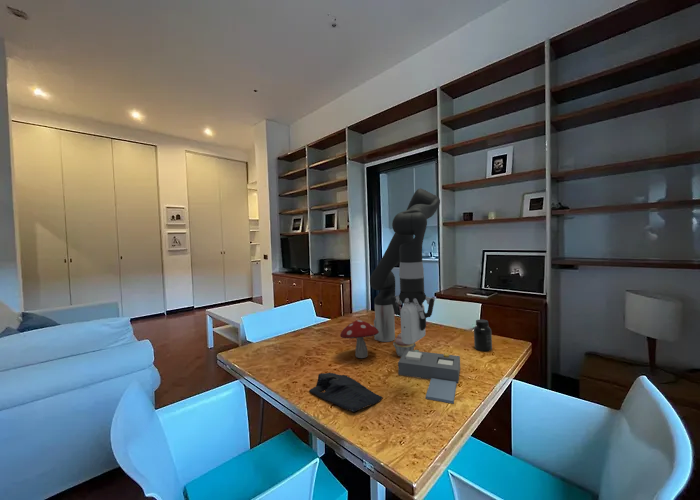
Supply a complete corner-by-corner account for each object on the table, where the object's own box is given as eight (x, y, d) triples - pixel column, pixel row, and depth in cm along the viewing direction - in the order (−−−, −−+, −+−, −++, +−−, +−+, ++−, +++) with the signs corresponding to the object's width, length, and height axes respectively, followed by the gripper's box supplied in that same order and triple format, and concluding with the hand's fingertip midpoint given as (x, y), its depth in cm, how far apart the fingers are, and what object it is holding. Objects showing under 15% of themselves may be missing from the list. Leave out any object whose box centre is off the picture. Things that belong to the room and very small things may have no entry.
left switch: (405, 362, 106) (405, 356, 106) (408, 357, 111) (408, 351, 111) (419, 364, 104) (419, 358, 104) (422, 358, 109) (422, 352, 109)
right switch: (437, 371, 102) (437, 364, 102) (439, 365, 107) (438, 359, 107) (452, 373, 100) (452, 366, 100) (453, 367, 105) (453, 361, 105)
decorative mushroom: (334, 360, 119) (332, 324, 118) (352, 346, 133) (350, 314, 132) (370, 367, 111) (368, 328, 110) (385, 351, 125) (383, 317, 125)
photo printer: (412, 345, 88) (410, 305, 88) (399, 342, 91) (398, 303, 90) (427, 336, 96) (426, 298, 95) (415, 333, 99) (414, 297, 98)
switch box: (398, 374, 104) (397, 360, 104) (406, 361, 115) (405, 347, 115) (458, 383, 96) (457, 367, 96) (460, 368, 107) (459, 353, 107)
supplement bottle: (488, 345, 127) (487, 318, 127) (494, 351, 120) (494, 323, 120) (472, 345, 128) (471, 318, 127) (477, 352, 121) (476, 323, 120)
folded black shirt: (348, 422, 79) (347, 405, 79) (306, 391, 96) (305, 377, 96) (387, 400, 89) (386, 385, 89) (342, 376, 106) (341, 363, 106)
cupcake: (410, 349, 127) (410, 326, 126) (419, 357, 118) (418, 333, 117) (390, 351, 125) (389, 328, 125) (397, 360, 116) (396, 335, 116)
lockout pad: (425, 398, 88) (425, 396, 88) (431, 380, 99) (431, 378, 99) (453, 403, 85) (453, 401, 85) (456, 384, 96) (456, 381, 96)
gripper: (436, 274, 93) (438, 327, 94) (392, 274, 99) (394, 323, 100) (433, 278, 86) (435, 334, 87) (386, 277, 92) (388, 330, 93)
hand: (413, 328), depth 93 cm, fingers closed on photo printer, 5 cm apart
